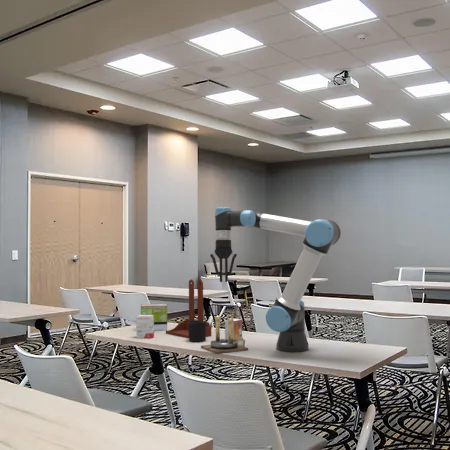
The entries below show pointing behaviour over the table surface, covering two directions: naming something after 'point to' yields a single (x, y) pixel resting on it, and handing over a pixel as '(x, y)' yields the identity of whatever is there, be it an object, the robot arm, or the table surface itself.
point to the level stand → (227, 350)
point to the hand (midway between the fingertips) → (223, 288)
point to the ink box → (145, 326)
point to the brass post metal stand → (224, 342)
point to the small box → (234, 329)
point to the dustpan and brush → (191, 313)
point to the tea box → (156, 315)
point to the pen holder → (197, 331)
